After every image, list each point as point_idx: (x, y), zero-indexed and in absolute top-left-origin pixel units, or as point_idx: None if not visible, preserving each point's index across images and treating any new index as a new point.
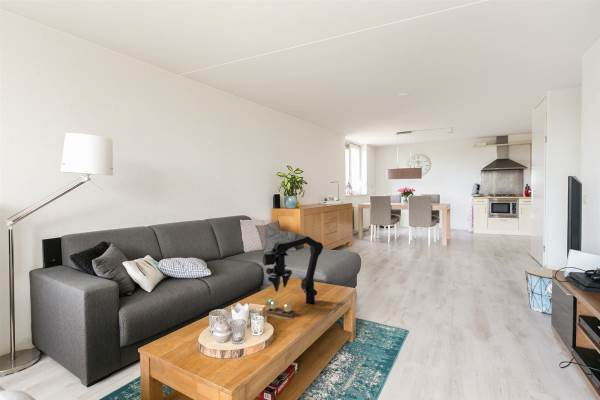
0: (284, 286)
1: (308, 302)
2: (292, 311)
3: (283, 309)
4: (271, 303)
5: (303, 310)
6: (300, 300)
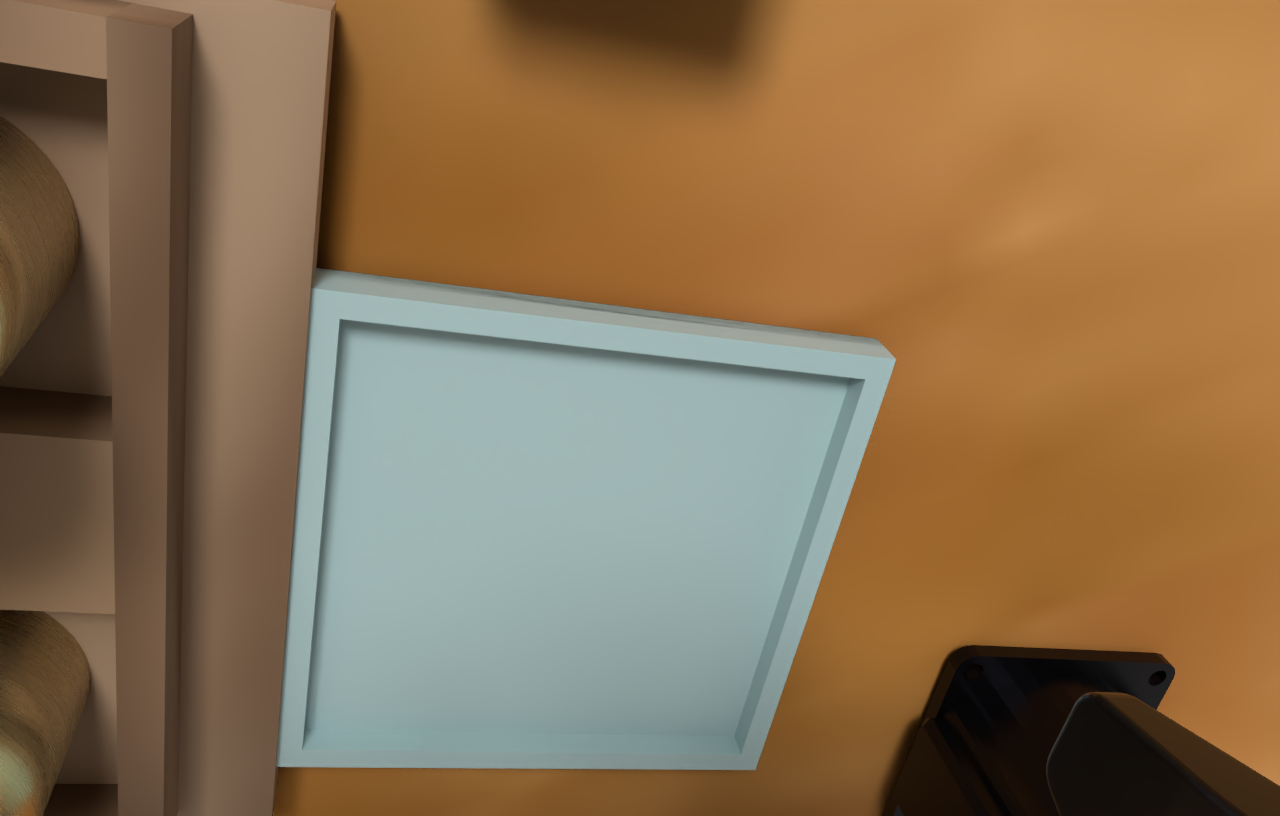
0: (1086, 770)
1: (919, 808)
2: (121, 779)
3: (82, 545)
4: None
5: None
6: (1224, 482)
